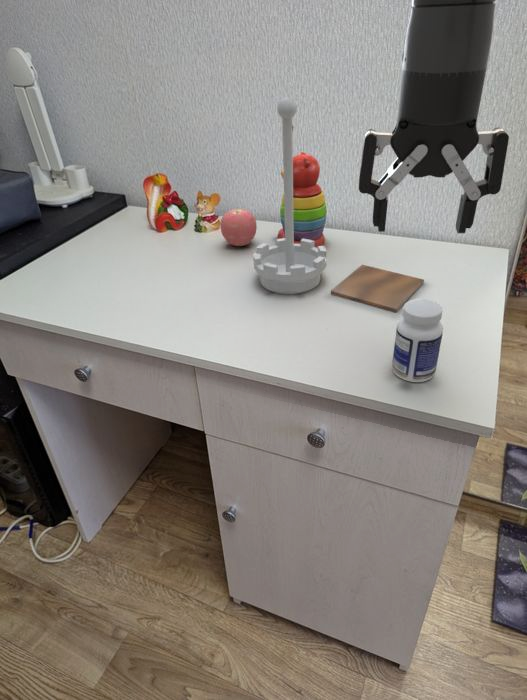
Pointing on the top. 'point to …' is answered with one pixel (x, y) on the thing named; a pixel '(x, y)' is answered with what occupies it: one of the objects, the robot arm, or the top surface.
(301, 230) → the stacking bear
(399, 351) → the pill bottle
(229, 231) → the apple
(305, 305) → the top surface
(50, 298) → the top surface
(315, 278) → the grey countertop holder stand
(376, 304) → the coaster
